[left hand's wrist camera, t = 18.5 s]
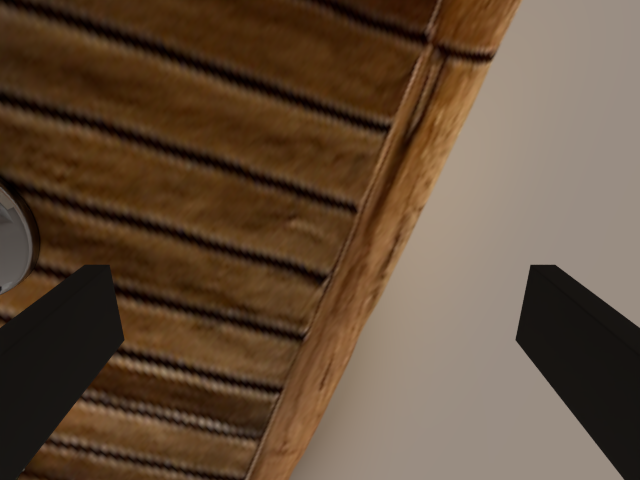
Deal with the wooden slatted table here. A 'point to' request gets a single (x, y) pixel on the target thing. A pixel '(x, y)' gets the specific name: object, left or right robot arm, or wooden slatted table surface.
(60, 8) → the wooden slatted table surface
